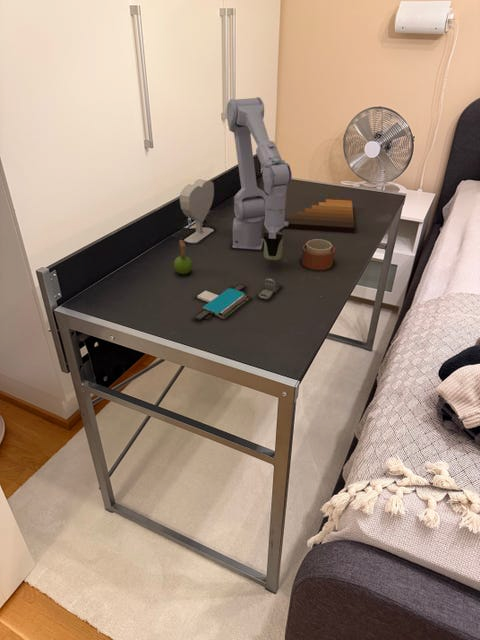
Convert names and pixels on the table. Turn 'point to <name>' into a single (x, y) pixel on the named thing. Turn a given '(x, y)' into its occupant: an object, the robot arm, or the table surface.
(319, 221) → the pan flute
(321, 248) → the stack top cup
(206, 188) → the heart sculpture
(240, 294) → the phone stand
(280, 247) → the sage cup
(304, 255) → the stack base cup
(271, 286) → the strap clip
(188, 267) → the green candy apple
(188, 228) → the table surface
